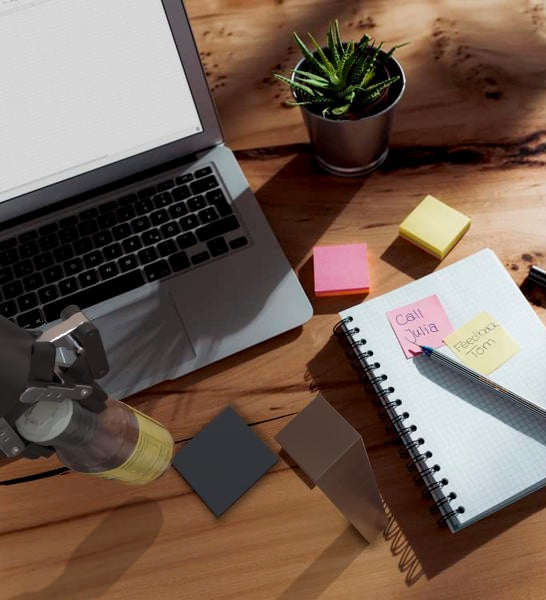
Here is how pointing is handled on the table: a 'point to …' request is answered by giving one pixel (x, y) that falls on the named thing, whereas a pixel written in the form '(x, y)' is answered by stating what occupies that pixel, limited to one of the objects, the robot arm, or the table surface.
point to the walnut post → (336, 464)
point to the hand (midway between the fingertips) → (71, 423)
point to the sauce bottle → (101, 439)
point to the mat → (224, 461)
